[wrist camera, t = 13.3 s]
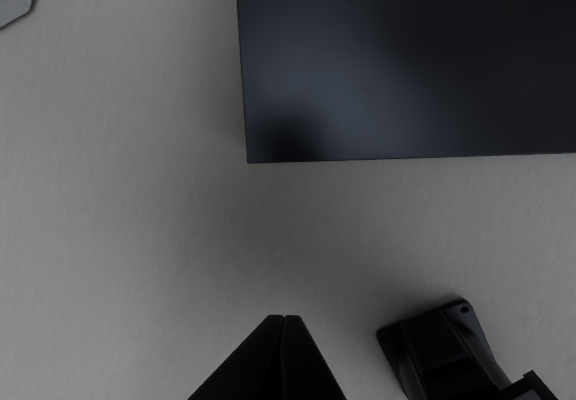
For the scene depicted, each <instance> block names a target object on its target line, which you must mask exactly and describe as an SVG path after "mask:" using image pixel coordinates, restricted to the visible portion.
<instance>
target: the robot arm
mask: <svg viewBox="0 0 576 400" xmlns="http://www.w3.org/2000/svg"><path fill="white" fill-rule="evenodd" d="M463 306H466V307H465V308H464V309H461V307H463ZM382 336H386V337H385V338H381V337H382ZM376 337H377V341H378V343H379V345H380V347H381V349H382V351H383V353H384V355H385V357H386V358H387V360H388V362H389V364H390V366H391V368H392V370H393V372H394V374H395V376H396V378H397V380H398V381H399V383H400V385H401V387H402V389H403V391H404V393H405V395H406V397H407V399H408V400H558V399H557V398H556V397H555V395H554V394H553V393H552V392H551V391H550V390H549V388H548V387H547V386H546V385H545V384H544V383H543V382H542V380H541V379H540V378H539V377H538V376H537V375H536V373H535V372H534V371H533V370H531V371H529V372H528V373H526V374H524V375H523V376H524V378H522V379H520V380H518V381H517V382H515V383H513V384H512V382H511V381H510V380H509V378H508V377H507V376H506V374H505V373H504V372H503V370H502V369H501V368H500V366H499V365H498V364H497V362H496V361H495V359H494V357H493V354H492V352H491V350H490V347H489V345H488V343H487V340H486V338H485V336H484V333H483V331H482V328H481V326H480V324H479V321H478V319H477V317H476V314H475V312H474V310H473V307H472V306H471V304H470V303H469V302H468V301H467V300H464V299H461V300H457V301H455V302H452V303H449V304H447V305H444V306H441V307H439V308H436V309H433V310H431V311H428V312H425V313H423V314H420V315H417V316H415V317H412V318H409V319H407V320H404V321H401V322H399V323H396V324H393V325H391V326H388V327H385V328H383V329H380V330H378V331H377V333H376ZM187 400H347V399H346V398H345V396H344V394H343V392H342V390H341V389H340V387H339V385H338V383H337V381H336V380H335V378H334V376H333V374H332V372H331V370H330V369H329V367H328V365H327V363H326V361H325V360H324V358H323V356H322V354H321V352H320V351H319V349H318V347H317V345H316V343H315V342H314V340H313V338H312V336H311V334H310V333H309V331H308V329H307V327H306V325H305V324H304V322H303V320H302V318H301V317H300V316H298V315H286V316H285V317H284V316H283V315H268V316H267V317H266V318H265V319H264V320H263V321H262V322H261V323H260V324H259V325H258V326H257V327H256V328H255V330H254V331H253V332H252V333H251V334H250V335H249V336H248V337H247V338H246V339H245V340H244V341H243V342H242V343H241V344H240V345H239V346H238V347H237V348H236V349H235V350H234V351H233V352H232V353H231V355H230V356H229V357H228V358H227V359H226V360H225V361H224V362H223V363H222V364H221V365H220V366H219V367H218V368H217V369H216V370H215V371H214V372H213V373H212V374H211V375H210V376H209V377H208V378H207V379H206V381H205V382H204V383H203V384H202V385H201V386H200V387H199V388H198V389H197V390H196V391H195V392H194V393H193V394H192V395H191V396H190V397H189V398H188V399H187Z"/></svg>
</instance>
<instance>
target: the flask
mask: <svg viewBox="0 0 576 400" xmlns="http://www.w3.org/2000/svg"><path fill="white" fill-rule="evenodd" d="M31 1H32V0H0V27H2V26H4V25H5V24H7V23H9V22H10V21H12V20H14V19H16V18H17V17H19V16H21V15H23V14H24V13H26V12H28V11H29V8H30V5H31Z"/></svg>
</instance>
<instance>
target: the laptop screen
mask: <svg viewBox="0 0 576 400" xmlns="http://www.w3.org/2000/svg"><path fill="white" fill-rule="evenodd" d="M237 12H238V27H239V43H240V58H241V74H242V89H243V104H244V120H245V135H246V150H247V163H248V164H252V163H283V162H314V161H346V160H377V159H408V158H440V157H471V156H502V155H534V154H565V153H576V0H237Z"/></svg>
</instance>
